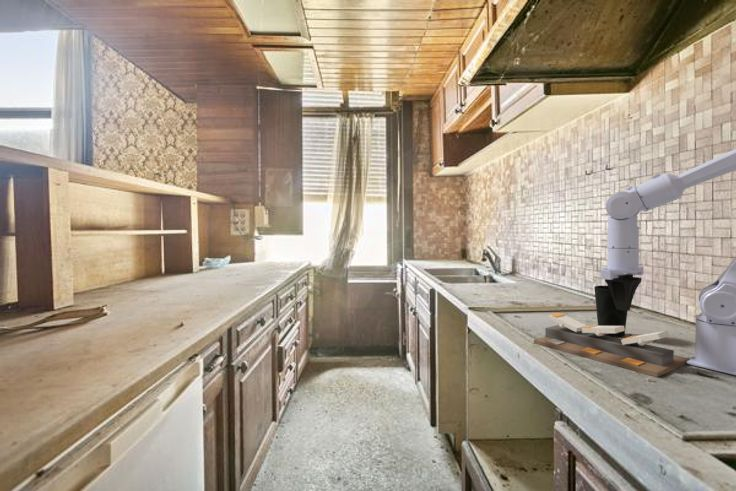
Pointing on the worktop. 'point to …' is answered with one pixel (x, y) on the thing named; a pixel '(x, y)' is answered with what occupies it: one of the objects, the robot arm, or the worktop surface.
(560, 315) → the switch
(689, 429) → the worktop surface
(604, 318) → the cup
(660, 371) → the switch board
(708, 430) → the worktop surface
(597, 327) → the switch
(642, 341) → the switch
